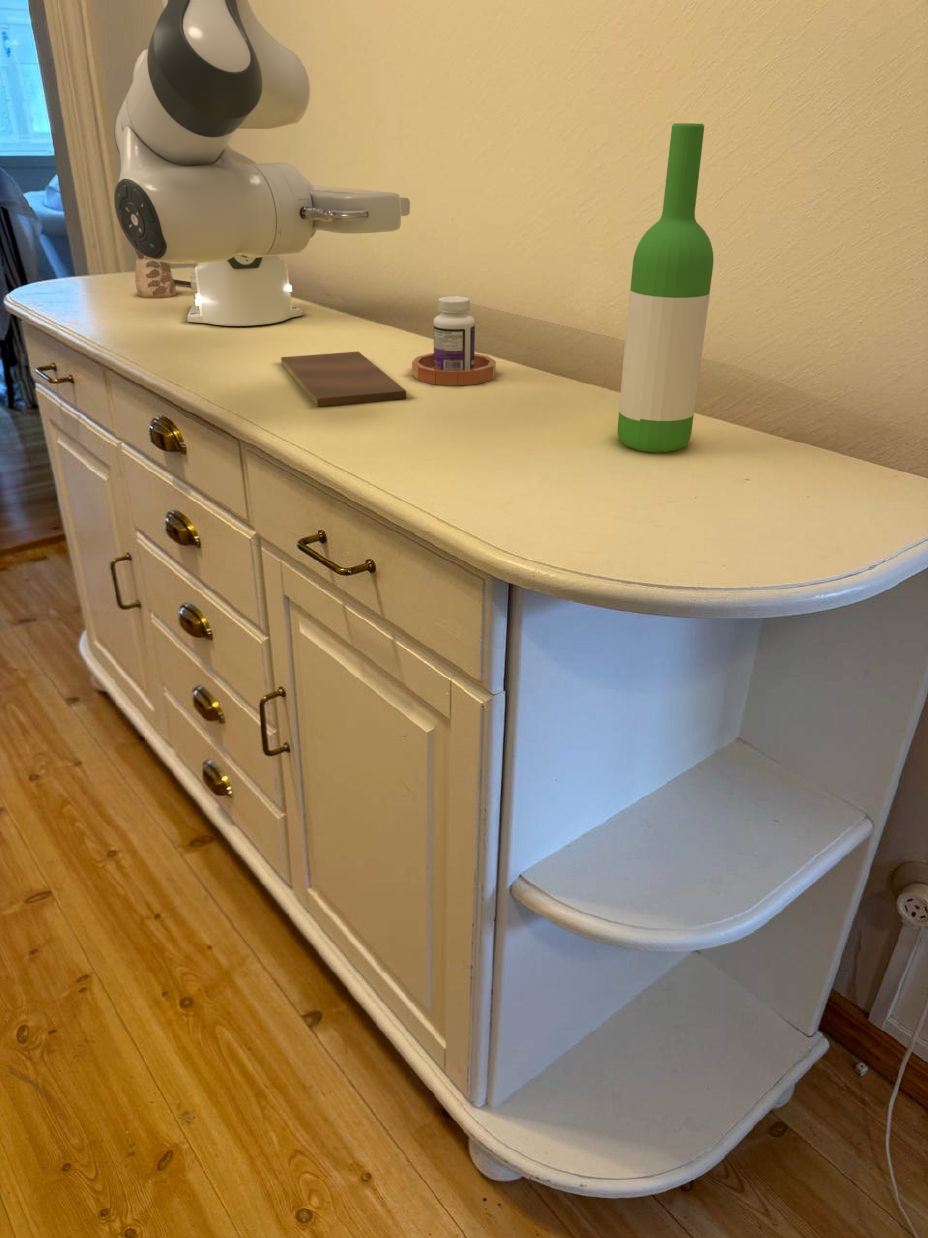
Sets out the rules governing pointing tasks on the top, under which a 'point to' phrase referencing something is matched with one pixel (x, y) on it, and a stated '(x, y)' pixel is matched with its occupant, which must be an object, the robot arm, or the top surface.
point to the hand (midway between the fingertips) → (378, 202)
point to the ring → (453, 371)
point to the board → (341, 379)
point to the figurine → (153, 278)
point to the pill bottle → (454, 335)
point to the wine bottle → (667, 310)
